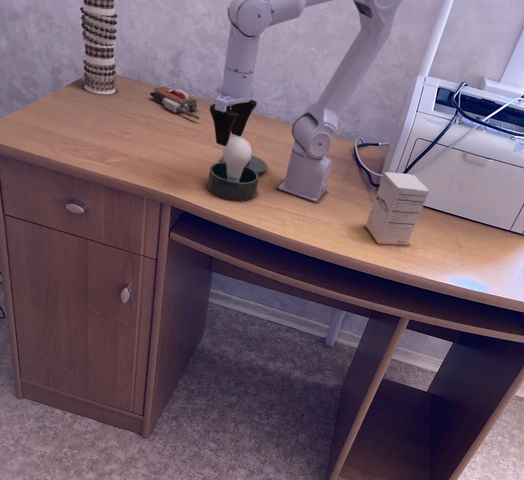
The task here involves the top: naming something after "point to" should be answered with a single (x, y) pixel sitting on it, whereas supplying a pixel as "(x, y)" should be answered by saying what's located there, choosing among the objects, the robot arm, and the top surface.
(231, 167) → the lightbulb
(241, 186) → the dark bowl
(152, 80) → the top surface
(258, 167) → the pan lid
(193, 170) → the top surface
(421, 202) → the white packaging box
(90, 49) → the decorative candle
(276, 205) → the top surface
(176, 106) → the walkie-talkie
